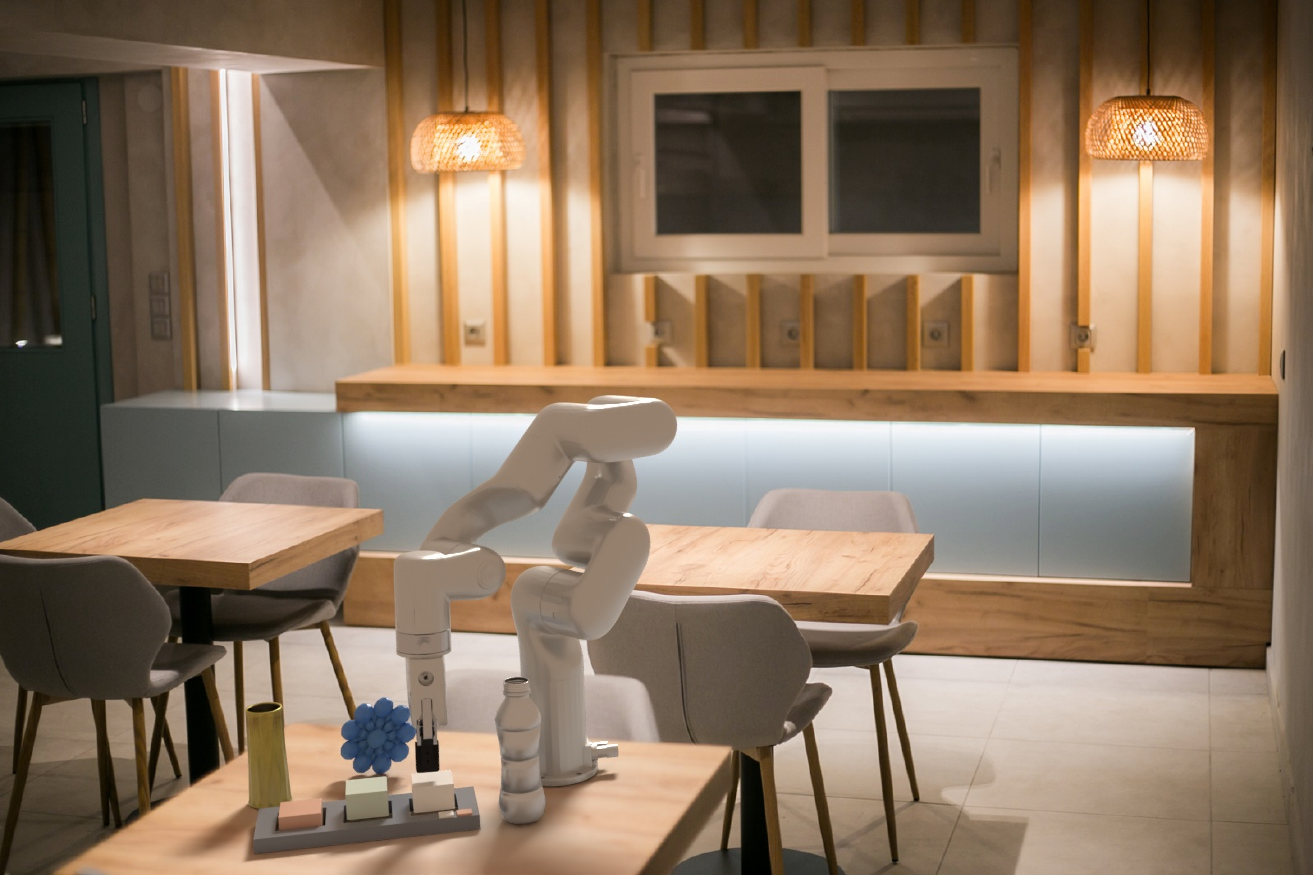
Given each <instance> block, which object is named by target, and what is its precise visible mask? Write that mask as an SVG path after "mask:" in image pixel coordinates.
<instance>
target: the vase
mask: <svg viewBox="0 0 1313 875" xmlns="http://www.w3.org/2000/svg"><path fill="white" fill-rule="evenodd" d="M283 709H284V708H283V705H282V703H280V702H275V701H263V702H258V703H253V704H250V705H248V706H247V707H245V729H246V746H247V763H248V765H247V767H248V770H247V773H248V774H247V776H248V805H249V806H250V808H252V809H257V810H259V809H261V808H270V807H280V803H281V802H288V801H293V800H292V799H293V796H292V791H291V783H290V773H289V765H288V758H287V757H288V756H287V755H288V754H287V748H286V738H285V736H286V735H285V726H284V725H285V724H284V721H285V720H284V710H283Z"/></svg>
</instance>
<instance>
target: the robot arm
mask: <svg viewBox="0 0 1313 875" xmlns="http://www.w3.org/2000/svg"><path fill="white" fill-rule="evenodd" d="M677 431H678V420H677V417H676V413H675V412H674V409H673V408H672V407H671V406H670V405H669V404H668V403H666V402H665V401H664V400H661V399H659V398H655V397H654V398H653V397H639V396H628V395H612V394H611V395H609V394H607V395H599V396H595V397H593V398H591V399H590V400H589V401H587V402H586V403H576V402H555V403H550V404H549V405H546V406H545V407H543V408H542V409H541V410H540V411H539V413H537V415H536V416H535V417H534V419H533V421H532V422H531V423H530V424H529V426H528V427H527V428H526V430H525V432H524V433H523V435H522V436H521V437H520V439H519V440H518V442H517V443H516V445H515V446H514V447H513V448H512V450H511V452H510V453H509V455H508V456H507V457H506V459H505V460H504V462H502V464H501V466H500V468H499V469H498V470H497V471H496V473H494V475H493V476H492V477H490V478H489V479H487V480H485V481H483V482H482V483H481V484H479V485H477V486H476V487H475V488H473V489H472V490H471V491H469V492H468V493H466V494H465V495H463V496H462V497H461V498H459V499H458V500H457V501H455V502H454V503H453V504H452V505H451V506H449V507H448V508H447V510H445V511H444V512H443V513H442V515H441V516H440V517H439V518H438V520H436V523H435V524H434V525H433V527H431V529H430V531H428V534H427V535H426V537H425V538H424V540H423V542H422V543H421V545H420V546H419V549H418V550H414V551H413V550H412V551H407V552H403V553H401V554H399V555H398V556H396V558H395V559H394V562H393V567H392V568H393V594H394V595H393V596H394V622H395V623H394V624H395V626H394V627H395V628H394V629H395V654H396V655H397V656H398V657H401V658H404V659H405V660H404V662H405V676H406V678H405V679H406V680H405V681H406V682H405V683H406V693H407V702H408V708H409V711H410V717H409V718H410V721H411V722H410V723H412V727H414V728H415V729H416V735H415V738H416V741H415V742H414V753H415V754H414V755H415V756H414V757H415V758H414V759H415V771H416V773H427V772H438V771H440V745H439V744H440V742H439V740H438V726H442V728H446V727H447V725H448V721H449V720H448V704H447V703H448V702H447V701H448V699H447V674H446V673H447V672H446V663H445V662H446V661H445V655H448V654H449V653H451V652H452V628H451V627H452V626H451V625H452V623H451V622H452V621H451V602H454V601H474V600H482V599H486V598H489V597H491V596H493V595H494V594H495V593H497V592H498V591H499V590H500V589H501V587H502V586H503V585H504V582H505V580H506V576H507V567H506V564H505V561H504V559H503V557H502V556H501V555H500V554H499V553H498V552H496V550H494V549H492V548H489V547H486V546H483V545H478V544H476V543H477V542H478V541H479V540H480V539H481V538H482V537H484V536H485V535H486V534H487V533H489V532H490V531H492V530H494V529H496V528H497V527H500V526H503V525H505V524H507V523H511V522H513V521H517V520H520V519H523V518H526V517H528V516H531V515H533V514H536V513H537V512H540V511H541V510H542V509H543V508H544V507H545V506H546V505H547V503H548V502H549V501H550V499H551V498H552V496H553V494H554V493H555V491H556V490H557V488H558V487H559V485H560V484H561V482H562V481H563V479H564V477H565V476H566V475H567V474H568V472H569V471H570V469H571V468H572V466H573V465H574V464H575V463H576V462H584V463H586V466H585V467H586V468H585V472H584V476H583V478H582V480H581V482H580V484H579V486H578V488H577V490H576V492H575V493H574V496H573V497H572V499H571V500H570V502H569V504H568V505H567V508H566V510H565V512H564V514H563V515H562V517H561V518H560V520H559V522H558V523H557V526H556V528H555V530H554V532H553V536H552V539H551V540H552V541H551V548H552V553H553V555H554V556H555V557H556V559H558V561H560V562H561V563H563V564H565V565H567V566H570V567H573V568H577V569H581V570H584V571H583V572H581V571H575V570H573V569H569V568H562V567H556V566H553V565H552V566H551V565H536V566H533V567H529V568H527V569H526V570H524V571H523V572H521V573H520V574H519V575H518V576H517V578H516V579H515V580H514V583H513V585H512V587H511V590H510V591H511V592H510V609H511V614H512V619H513V623H514V627H515V631H516V636H517V642H518V643H517V644H518V651H519V663H520V665H519V667H520V677H526V678H528V679H529V681H530V689H531V693H530V694H529V697H530V698H531V699H532V701H533V702H534V703H535V705H536V706H537V707H538V709H539V712H540V715H541V727H540V738H539V766H540V774H541V782H542V786H543V787H563V786H568V785H574V784H579V783H582V782H584V781H586V780H588V779H589V780H590V778H593V776H595V775H596V774H597V772H598V770H599V763H598V760H599V759H602V758H604V759H605V758H606V759H607V758H608V759H609V758H610V759H611V758H618V757H619V747H618V743H616V744H615V743H614V744H608V741H606V740H605V741H599V742H592V741H590V740H589V738H588V735H587V716H586V690H585V689H586V687H585V686H586V685H585V664H584V663H585V660H584V652H583V648H582V644H581V642H580V641H581V640H582V641H595V640H598V639H600V638H602V637H604V636H605V635H606V634H608V633H609V632H610V631H611V629H612V628H613V626H615V624H616V622H617V621H618V619H619V618H620V616H621V614H622V612H623V610H624V608H625V606H626V604H627V602H628V600H629V598H630V597H631V595H632V593H633V591H634V590H635V587H636V586H637V583H638V582H639V579H640V578H641V576H642V574H643V572H644V570H645V568H646V565H647V564H648V563H647V562H648V561H649V558H650V553H651V535H650V532H649V529H648V526H647V525H646V523H645V522H644V521H643V519H641V518H640V517H638V516H637V515H635V514H633V513H630V512H629V511H630V509H631V506H632V505H633V502H634V501H635V497H636V496H637V495H636V494H637V490H638V479H637V478H638V477H637V473H636V469H635V464H634V461H633V460H636V459H640V458H645V457H651V456H655V455H659V454H660V453H663V452H664V451H665V450H667V449H668V447H670V446H671V445H672V443H673V441H674V440H675V437H676V436H677V435H676V434H677Z"/></svg>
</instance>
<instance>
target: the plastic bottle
mask: <svg viewBox="0 0 1313 875" xmlns="http://www.w3.org/2000/svg"><path fill="white" fill-rule="evenodd" d="M530 693H531V689H530V681H529V679H528V678H526V677H521V676H511V677H506V678H505V679H504V680H503V690H502V695H503V696H504V699H503V700H502V701H501V703H500V705H499V706H498V708H497V710H496V712H495V717H494V725H495V729H496V733H497V734H496V735H497V739H498V744H499V754H500V763H501V768H500V772H501V774H500V787H499V788H500V789H499V795H498V807H499V812H500V815H501V817H502V818H503V820H505V821H506V822H508V823H511V824H515V825H516V824H517V825H518V824H519V825H523V824H531V823H533V822H534V823H535V822H537V821H538V820H540V819H541V818H542V816H543V814H544V813H545V809H546V802H547V801H546V795H545V790H544V786H542V782H541V774H540V766H539V738H540V727H541V715H540V712H539V709H538V707H537V706H536V705H535V703H534V702H533V701H532V699H531V698H530V697H529V694H530Z"/></svg>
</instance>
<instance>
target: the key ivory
mask: <svg viewBox="0 0 1313 875" xmlns="http://www.w3.org/2000/svg"><path fill="white" fill-rule="evenodd" d="M410 778H411V793H412V799H413V809H414V812H413V814H418V813H419V814H420V813H428V812H437V811H438V812H440V811H445V810H446V811H449V810H454V809H456V807H455V801H454V788H455V787H454V786H455V785H454V784H455V783H454V777H453V773H452V769H445V770H439V771H438V772H427V773H417V772H416V773H410Z"/></svg>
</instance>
